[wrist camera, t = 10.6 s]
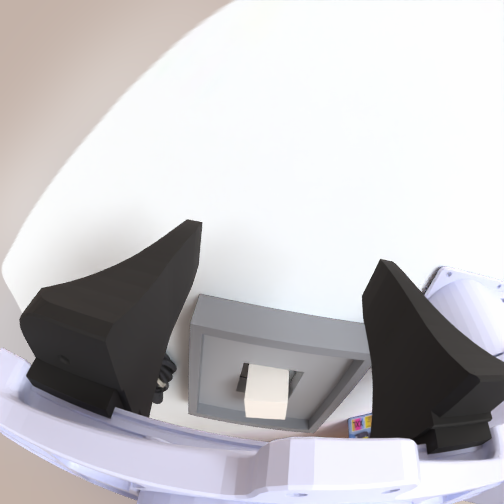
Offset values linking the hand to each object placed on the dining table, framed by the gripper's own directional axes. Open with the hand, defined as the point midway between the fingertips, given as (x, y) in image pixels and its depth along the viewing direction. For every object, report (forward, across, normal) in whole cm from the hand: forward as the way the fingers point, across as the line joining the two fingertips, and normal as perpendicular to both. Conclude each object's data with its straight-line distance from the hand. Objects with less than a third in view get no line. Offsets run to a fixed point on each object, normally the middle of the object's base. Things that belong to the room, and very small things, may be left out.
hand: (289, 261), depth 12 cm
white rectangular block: (+10, -3, +21) cm, 23 cm away
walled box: (+9, -3, +21) cm, 23 cm away
